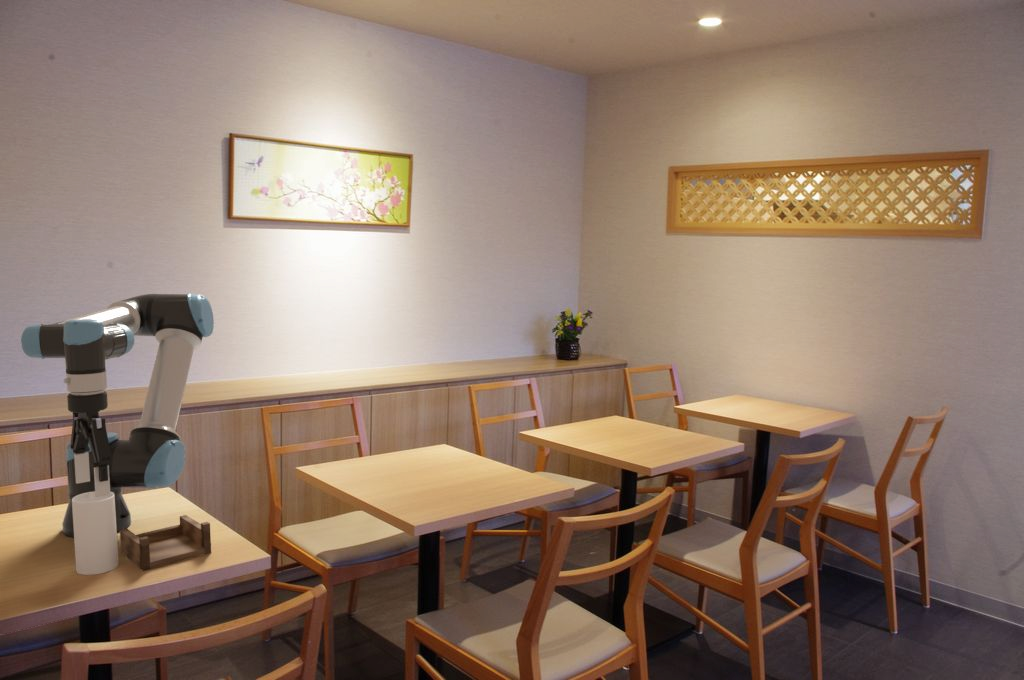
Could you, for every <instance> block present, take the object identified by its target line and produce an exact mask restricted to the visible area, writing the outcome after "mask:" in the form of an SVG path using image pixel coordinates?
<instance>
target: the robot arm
mask: <svg viewBox="0 0 1024 680" xmlns="http://www.w3.org/2000/svg"><path fill="white" fill-rule="evenodd" d="M214 324H215V322H214V313H213V309H212V306H211V304H210V301H209V300H208V298H207V297H206V296H205V295H203V294H199V293H198V294H196V293H193V294H192V293H184V294H183V293H176V294H175V293H147V294H142V295H137V296H133V297H130V298H126V299H122V300H119V301H115V302H112V303H111V304H109V305H108V306H107V308H106V309H105V308H104V309H102V310H99V311H95V312H90V313H88V314H84V315H80V316H76V317H73V318H70V319H66V320H63V321H59V322H55V323H51V324H43V323H39V324H30V325H28V326H27V327H25V329H24V330H23V331H22V334H21V336H20V337H21V339H20V342H21V343H20V344H21V350H22V351H23V352H24V354H25V355H26V356H27V357H29V358H31V359H32V358H33V359H35V358H36V359H38V358H39V359H41V360H43V359H65V373H66V378H64V379H63V383H65V384H66V390H67V391H66V392H69V393H68V395H66V397H67V410H68V412H71V413H72V426H71V437H70V442H69V443H68V444H67V446H66V450H65V451H66V454H65V456H66V457H65V463H66V473H67V485H68V502H67V503H68V505H67V507H66V511H65V515H64V517H63V522H62V533H63V534H64V535H65V536H68V537H71V538H74V527H73V511H72V498H73V497H75V496H77V495H79V494H83V493H87V492H94V491H95V497H101V496H106V495H110V492H113V493H114V495H115V512H116V529H117V533H118V532H120V530H122V529H126V528H128V527H129V526H130V525H131V523H132V518H131V512H130V510H129V507H128V505H127V503H126V501H125V498H124V496H123V492H122V488H131V489H132V488H142V489H144V488H145V489H147V488H148V489H156V488H167V487H169V486H172V485H173V484H174V483H176V482H177V481H178V479H179V478H180V476H181V474H182V472H183V469H184V467H185V464H186V463H185V462H186V456H185V454H186V447H185V445H184V443H183V442H182V441H181V436H180V435H179V434H178V432H177V431H176V429H177V424H178V420H179V415H180V411H181V407H182V403H183V397H184V394H185V393H184V392H185V390H186V384H187V380H188V377H189V376H188V375H189V372H190V367H191V362H192V358H193V354H194V350H196V349H198V348H200V347H201V344H202V341H203V338H209V337H210V336H211V335H213V331H214ZM136 336H138V337H139V336H141V337H142V336H143V337H155V340H156V341H157V342H158V344H159V345H158V348H157V352H156V356H155V361H154V363H153V364H154V365H153V368H152V373H151V376H150V381H149V385H148V388H147V393H146V397H145V399H144V400H145V401H144V404H143V409H142V413H141V417H140V421H139V424H138V425H137V426H135V427H133V428H132V429H131V431H130V434H129V437H128V439H123V440H122V439H120V436H119V434H118V433H116V432H108V431H107V427H106V424H107V423H106V418H105V417H100V414H99V412H101V411H104V410H106V409H107V408H108V406H109V404H108V392H107V391H105V390H107V388H108V381H107V368H106V360H109V359H115V358H120V357H122V356H124V355H127V354H128V353H129V352H131V351H132V349H133V347H134V345H135V337H136Z"/></svg>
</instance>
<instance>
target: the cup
mask: <svg viewBox="0 0 1024 680" xmlns="http://www.w3.org/2000/svg"><path fill="white" fill-rule="evenodd" d="M72 511H73V527H74V537H73V540H74V542H73V543H74V554H75V556H74V557H75V569H76V570H75V571H76V573H77V574H79V575H83V576H84V575H86V576H92V575H99V574H103V573H107V572H110V571H113V570H114V569H116V568H117V567H118V566H119V551H118V549H119V548H118V534H117V533H118V532H117V529H116V512H115V495H114V493H113V492H110V495H106V496H101V497H95V491H94V492H87V493H83V494H79V495H77V496H75V497H73V498H72Z"/></svg>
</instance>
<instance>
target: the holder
mask: <svg viewBox="0 0 1024 680" xmlns="http://www.w3.org/2000/svg"><path fill="white" fill-rule="evenodd" d="M119 537H120V553H121V555H123V557H126V559H128V560H129V561H130V562H132V563H133V565H135V566H137V567H138V569H140V570H141V571H142V572H144V571H149V570H152V569H155V568H160V567H164V566H167V565H172V564H174V563H179V562H182V561H185V560H190V559H194V558H197V557H201V556H205V555H208V554H211V553H212V539H211V523H210V522H208V521H205V522H202V523H200V522H199V521H197V520H195V519H194V518H192V517H190V516H189V515H186V514H183V515H179V524H176V525H171V526H167V527H163V528H159V529H155V530H151V531H146V532H143V533H137V534H135V533H134V532H133V531H131V530H130V529H128V527H126V528H125V529H122V530H120V531H119Z"/></svg>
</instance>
